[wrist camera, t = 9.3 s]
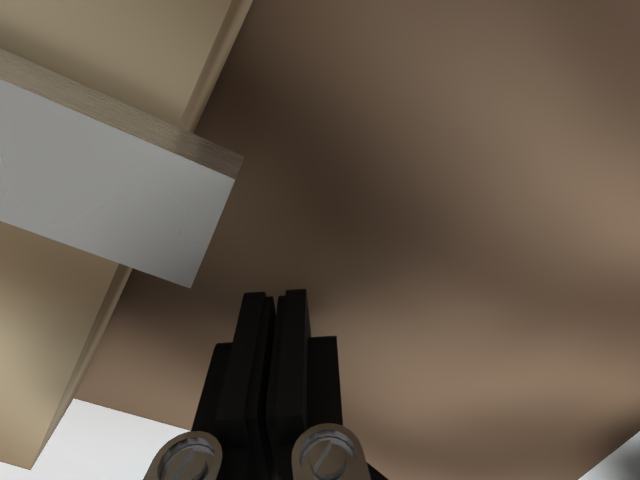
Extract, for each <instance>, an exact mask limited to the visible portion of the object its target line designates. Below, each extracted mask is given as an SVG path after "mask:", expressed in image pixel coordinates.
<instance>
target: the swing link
mask: <svg viewBox="0 0 640 480" xmlns="http://www.w3.org/2000/svg"><path fill="white" fill-rule="evenodd" d="M252 2H253V0H0V48H1V49H4V50H6V51H8V52H10V53H13V54H15V55H17V56H19V57H22V58H24V59H26V60H28V61H31V62H33V63H35V64H37V65H40V66H42V67H44V68H46V69H49V70H51V71H53V72H55V73H58V74H60V75H62V76H64V77H67V78H69V79H71V80H73V81H76V82H78V83H80V84H82V85H85V86H87V87H89V88H91V89H94V90H96V91H98V92H101V93H103V94H105V95H107V96H110V97H112V98H114V99H116V100H119V101H121V102H123V103H125V104H128V105H130V106H132V107H134V108H137V109H139V110H141V111H143V112H146V113H148V114H150V115H152V116H155V117H157V118H159V119H161V120H164V121H166V122H168V123H170V124H173V125H175V126H177V127H179V128H182V129H184V130H186V131H188V132H191V133H194V131H195V128H196V126H197V124H198V122H199V120H200V117H201V115H202V113H203V111H204V108H205V106H206V104H207V102H208V100H209V97H210V95H211V93H212V91H213V88H214V86H215V84H216V82H217V80H218V77H219V75H220V73H221V71H222V68H223V66H224V64H225V62H226V59H227V57H228V55H229V53H230V51H231V48H232V46H233V44H234V42H235V39H236V37H237V35H238V33H239V31H240V28H241V26H242V24H243V22H244V19H245V17H246V15H247V13H248V11H249V8H250V6H251V4H252ZM132 269H133V268H131V267H128V266H126V265H123V264H120V263H117V262H114V261H111V260H109V259H106V258H103V257H100V256H97V255H95V254H92V253H89V252H86V251H83V250H81V249H78V248H75V247H72V246H69V245H67V244H64V243H61V242H58V241H55V240H53V239H50V238H47V237H44V236H41V235H39V234H36V233H33V232H30V231H27V230H25V229H22V228H19V227H16V226H13V225H11V224H8V223H5V222H2V221H0V462H4V463H7V464H11V465H14V466H18V467H21V468H25V469H28V470H31V468H32V467H33V465H34V463H35V462H36V460H37V458H38V457H39V455H40V453H41V452H42V450H43V448H44V447H45V445H46V443H47V442H48V440H49V438H50V437H51V435H52V433H53V432H54V430H55V428H56V427H57V425H58V423H59V422H60V420H61V418H62V417H63V415H64V413H65V412H66V410H67V408H68V407H69V405H70V403H71V402H72V400H73V398H74V397H75V395H76V393H77V391H78V389H79V387H80V384H81V382H82V380H83V378H84V375H85V373H86V371H87V369H88V367H89V364H90V362H91V360H92V358H93V355H94V353H95V351H96V349H97V347H98V344H99V342H100V340H101V338H102V335H103V333H104V331H105V329H106V327H107V324H108V322H109V320H110V318H111V315H112V313H113V311H114V309H115V307H116V304H117V302H118V300H119V298H120V295H121V293H122V291H123V289H124V286H125V284H126V282H127V280H128V278H129V275H130V273H131V271H132Z"/></svg>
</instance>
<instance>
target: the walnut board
mask: <svg viewBox="0 0 640 480" xmlns="http://www.w3.org/2000/svg"><path fill="white" fill-rule="evenodd" d="M193 134H195V135H197V136H200V137H202V138H204V139H206V140H209V141H211V142H213V143H216V144H218V145H220V146H222V147H225V148H227V149H229V150H231V151H234V152H236V153H238V154H240V155H243V156H245V158H244V160H243V163H242V165H241V168H240V170H239V172H238V175H237V177H236V180H235V182H234V185H233V187H232V189H231V192H230V194H229V197H228V199H227V202H226V204H225V207H224V209H223V211H222V214H221V216H220V219H219V221H218V224H217V226H216V228H215V231H214V233H213V236H212V238H211V241H210V243H209V245H208V248H207V250H206V253H205V255H204V258H203V260H202V262H201V265H200V267H199V269H198V272H197V274H196V277H195V279H194V281H193V284H192V286H191V288H187V287H184V286H182V285H179V284H176V283H173V282H170V281H168V280H165V279H162V278H159V277H156V276H154V275H151V274H148V273H145V272H142V271H140V270H137V269H134V268H133V269H132V271H131V273H130V275H129V278H128V280H127V282H126V284H125V286H124V289H123V291H122V293H121V295H120V298H119V300H118V302H117V304H116V307H115V309H114V311H113V313H112V315H111V318H110V320H109V322H108V324H107V327H106V329H105V331H104V333H103V335H102V338H101V340H100V342H99V344H98V347H97V349H96V351H95V353H94V355H93V358H92V360H91V362H90V364H89V367H88V369H87V371H86V373H85V375H84V378H83V380H82V382H81V384H80V387H79V389H78V391H77V393H76V395H75V397H74V398H75V399H78V400H82V401H86V402H89V403H93V404H96V405H100V406H104V407H107V408H111V409H114V410H118V411H122V412H125V413H129V414H132V415H136V416H140V417H143V418H147V419H150V420H154V421H158V422H161V423H165V424H168V425H172V426H176V427H179V428H183V429H187V430H190V431H191V429H192V425H193V422H194V418H195V415H196V411H197V408H198V404H199V400H200V397H201V393H202V390H203V386H204V383H205V379H206V375H207V372H208V368H209V365H210V361H211V358H212V354H213V350H214V348H215V345H216V344H217V343H228V342H233V338H234V334H235V329H236V325H237V321H238V316H239V312H240V308H241V303H242V299H243V295H244V293H248V292H263V291H265V293H266V297H268V296H273V298H274V304H275V310H276V312H277V303H278V296H283V295H285V294H286V290H294V289H306V291H307V300H308V309H309V319H310V328H311V337H322V336H337V348H338V362H339V376H340V390H341V403H342V417H343V426H344V427H345V428H347V429H349V430H351V431H352V432H353V433H354V434H355V435H356V436H357V438H358V439H359V441H360V443H361V446H362V448H363V452H364V455H365V459H366V462H367V463H369V464H370V465H371V466H372V467H374V468H375V469H376V470H377V471H379V472H380V473H381V474H382V475H384V476H385V477H386V478H387V479H389V480H578V479H579V478H580V477H582V476H583V475H584V474H586V473H587V472H588V471H589V470H591V469H592V468H593V467H594V466H596V465H597V464H598V463H600V462H601V461H602V460H603V459H605V458H606V457H607V456H608V455H610V454H611V453H612V452H614V451H615V450H616V449H617V448H619V447H620V446H621V445H622V444H624V443H625V442H626V441H628V440H629V439H630V438H631V437H633V436H634V435H635V434H636V433H638V432H639V431H640V0H253V2H252V4H251V6H250V8H249V11H248V13H247V15H246V17H245V19H244V22H243V24H242V26H241V28H240V31H239V33H238V35H237V37H236V39H235V42H234V44H233V46H232V48H231V51H230V53H229V55H228V57H227V59H226V62H225V64H224V66H223V68H222V71H221V73H220V75H219V77H218V80H217V82H216V84H215V86H214V88H213V91H212V93H211V95H210V97H209V100H208V102H207V104H206V106H205V108H204V111H203V113H202V115H201V117H200V120H199V122H198V124H197V126H196V128H195V131H194V133H193Z"/></svg>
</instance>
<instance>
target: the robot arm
mask: <svg viewBox="0 0 640 480" xmlns="http://www.w3.org/2000/svg"><path fill="white" fill-rule="evenodd" d="M277 479H278V480H389V479H387V478H386V477H385V476H384V475H382V474H381V473H380V472H379V471H377V470H376V469H375V468H374V467H372V466H371V465H370V464H369V463H367V462H366V459H365V455H364V452H363V448H362V446H361V443H360V441H359V439H358V438H357V436H356V435H355V434H354V433H353V432H352V431H351V430H349V429H347V428H345V427H344V426H343V417H342V403H341V390H340V376H339V362H338V348H337V336H322V337H311V328H310V319H309V309H308V300H307V291H306V289H294V290H286V294H285V295H283V296H278V303H277V312H276V310H275V304H274V298H273V296H268V297H266V293H265V291H263V292H248V293H244V295H243V299H242V303H241V308H240V312H239V316H238V321H237V325H236V329H235V334H234V338H233V342H228V343H217V344H216V345H215V348H214V350H213V354H212V358H211V361H210V365H209V368H208V372H207V375H206V379H205V383H204V386H203V390H202V393H201V397H200V400H199V404H198V408H197V411H196V415H195V418H194V422H193V425H192V429H191V432H187V433H184V434H181V435H178V436H176V437H175V438H173V439H171V440H170V441H168V442H167V443H166V444H165V445H164V446H163V447H162V448H161V449H160V450H159V451H158V453H157V454H156V456H155V457H154V459H153V461H152V463H151V465H150V467H149V469H148V471H147V473H146V475H145V477H144V479H143V480H277Z"/></svg>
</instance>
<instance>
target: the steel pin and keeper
mask: <svg viewBox="0 0 640 480" xmlns="http://www.w3.org/2000/svg"><path fill="white" fill-rule="evenodd" d="M244 158H245V156H243V155H240V154H238V153H236V152H234V151H231V150H229V149H227V148H225V147H222V146H220V145H218V144H216V143H213V142H211V141H209V140H206V139H204V138H202V137H200V136H197V135H195V134H193V133H191V132H188V131H186V130H184V129H182V128H179V127H177V126H175V125H173V124H170V123H168V122H166V121H164V120H161V119H159V118H157V117H155V116H152V115H150V114H148V113H146V112H143V111H141V110H139V109H137V108H134V107H132V106H130V105H128V104H125V103H123V102H121V101H119V100H116V99H114V98H112V97H110V96H107V95H105V94H103V93H101V92H98V91H96V90H94V89H91V88H89V87H87V86H85V85H82V84H80V83H78V82H76V81H73V80H71V79H69V78H67V77H64V76H62V75H60V74H58V73H55V72H53V71H51V70H49V69H46V68H44V67H42V66H40V65H37V64H35V63H33V62H31V61H28V60H26V59H24V58H22V57H19V56H17V55H15V54H13V53H10V52H8V51H6V50H4V49H1V48H0V221H2V222H5V223H8V224H11V225H13V226H16V227H19V228H22V229H25V230H27V231H30V232H33V233H36V234H39V235H41V236H44V237H47V238H50V239H53V240H55V241H58V242H61V243H64V244H67V245H69V246H72V247H75V248H78V249H81V250H83V251H86V252H89V253H92V254H95V255H97V256H100V257H103V258H106V259H109V260H111V261H114V262H117V263H120V264H123V265H126V266H128V267H131V268H134V269H137V270H140V271H142V272H145V273H148V274H151V275H154V276H156V277H159V278H162V279H165V280H168V281H170V282H173V283H176V284H179V285H182V286H184V287H187V288H191V286H192V284H193V281H194V279H195V277H196V274H197V272H198V269H199V267H200V265H201V262H202V260H203V258H204V255H205V253H206V250H207V248H208V245H209V243H210V241H211V238H212V236H213V233H214V231H215V228H216V226H217V224H218V221H219V219H220V216H221V214H222V211H223V209H224V207H225V204H226V202H227V199H228V197H229V194H230V192H231V189H232V187H233V185H234V182H235V180H236V177H237V175H238V172H239V170H240V168H241V165H242V163H243V160H244Z"/></svg>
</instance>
